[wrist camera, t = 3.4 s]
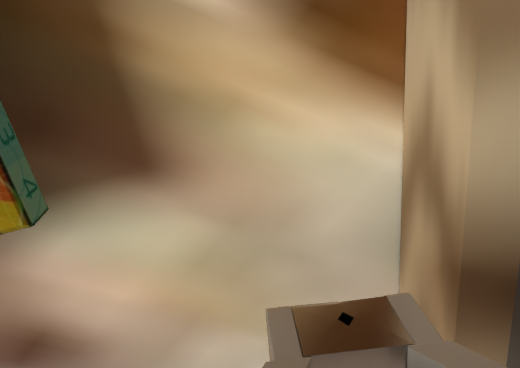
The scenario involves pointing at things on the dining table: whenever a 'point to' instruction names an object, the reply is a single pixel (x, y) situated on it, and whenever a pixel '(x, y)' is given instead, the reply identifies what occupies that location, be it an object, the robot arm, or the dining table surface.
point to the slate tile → (515, 331)
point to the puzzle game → (16, 183)
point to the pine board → (462, 169)
